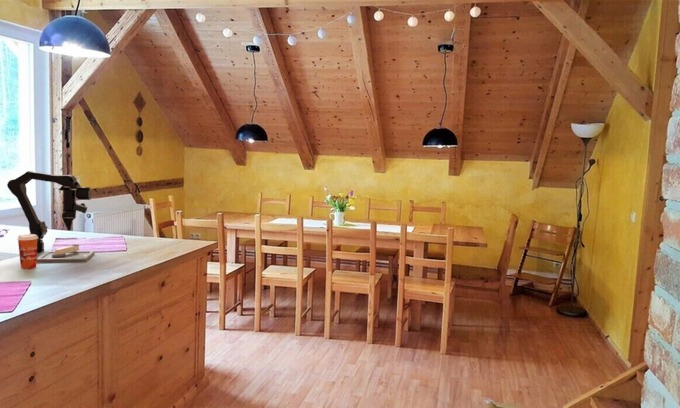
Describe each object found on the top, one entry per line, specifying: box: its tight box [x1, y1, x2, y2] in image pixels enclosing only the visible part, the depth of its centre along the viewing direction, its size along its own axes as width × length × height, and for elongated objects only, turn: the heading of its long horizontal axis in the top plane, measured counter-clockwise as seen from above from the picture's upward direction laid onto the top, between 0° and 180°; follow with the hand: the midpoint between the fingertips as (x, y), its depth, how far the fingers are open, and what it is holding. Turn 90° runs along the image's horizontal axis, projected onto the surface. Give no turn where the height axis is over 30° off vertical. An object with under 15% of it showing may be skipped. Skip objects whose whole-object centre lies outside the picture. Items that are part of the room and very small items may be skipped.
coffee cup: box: [16, 233, 38, 270], centre depth 232 cm, size 8×8×15 cm
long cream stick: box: [52, 244, 80, 257], centre depth 254 cm, size 14×6×4 cm, turn 160°
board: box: [36, 250, 95, 264], centre depth 252 cm, size 22×17×2 cm
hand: (69, 228), depth 265 cm, fingers open, 9 cm apart
